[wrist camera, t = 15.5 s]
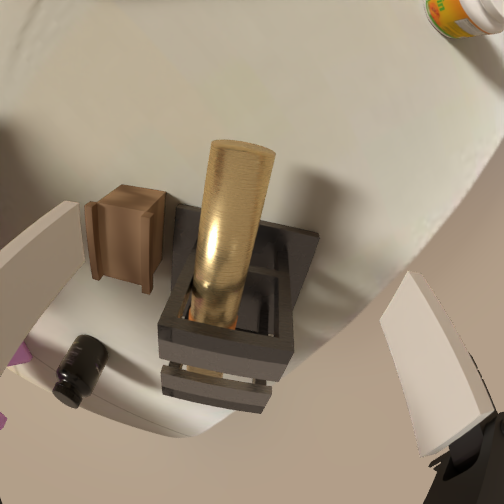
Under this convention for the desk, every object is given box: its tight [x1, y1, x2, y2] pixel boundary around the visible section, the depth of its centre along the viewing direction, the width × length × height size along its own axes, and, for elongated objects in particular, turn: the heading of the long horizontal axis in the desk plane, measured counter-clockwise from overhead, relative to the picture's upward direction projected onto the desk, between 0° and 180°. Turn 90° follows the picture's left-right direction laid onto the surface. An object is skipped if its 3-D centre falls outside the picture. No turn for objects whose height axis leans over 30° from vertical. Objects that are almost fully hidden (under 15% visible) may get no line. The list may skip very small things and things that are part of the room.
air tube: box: [186, 140, 276, 378], centre depth 23 cm, size 24×4×4 cm
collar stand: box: [158, 204, 320, 414], centre depth 25 cm, size 14×14×13 cm
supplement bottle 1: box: [52, 335, 108, 408], centre depth 36 cm, size 7×7×12 cm
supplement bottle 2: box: [424, 0, 504, 39], centre depth 10 cm, size 5×5×10 cm
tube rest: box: [84, 185, 166, 295], centre depth 26 cm, size 6×8×6 cm
